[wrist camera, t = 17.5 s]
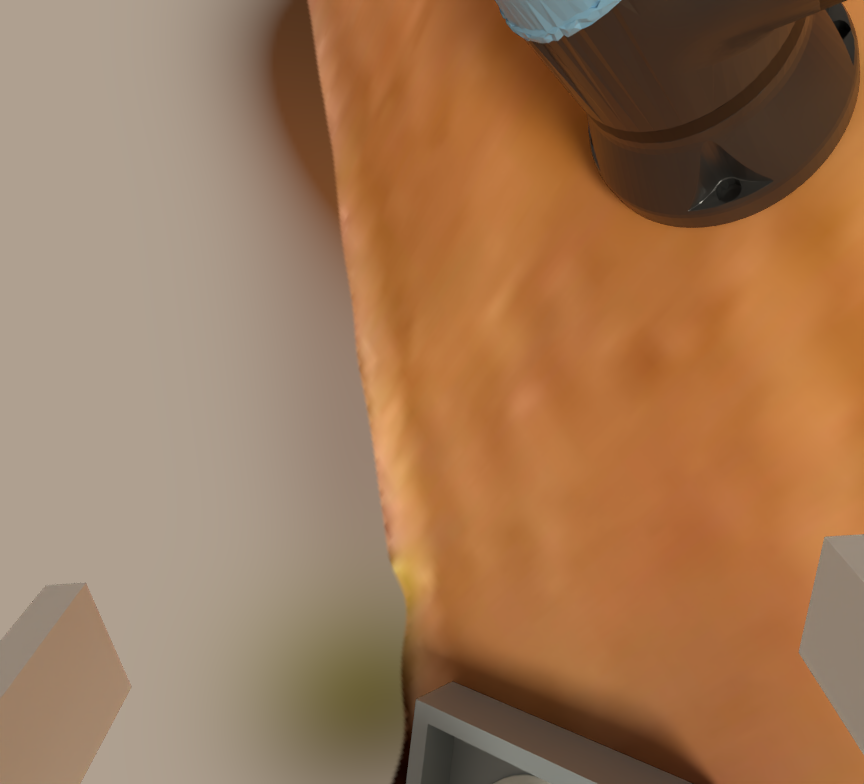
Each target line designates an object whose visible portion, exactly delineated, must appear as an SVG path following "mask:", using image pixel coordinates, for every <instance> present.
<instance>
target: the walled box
mask: <svg viewBox="0 0 864 784" xmlns="http://www.w3.org/2000/svg"><path fill="white" fill-rule="evenodd" d="M406 784H693V783H691V782H688V781H686V780H684V779H681V778H679V777H676V776H674V775H672V774H669V773H667V772H665V771H662V770H660V769H658V768H655V767H653V766H651V765H648V764H646V763H644V762H641V761H639V760H636V759H634V758H632V757H629V756H627V755H625V754H622V753H620V752H618V751H615V750H613V749H611V748H608V747H606V746H603V745H601V744H599V743H596V742H594V741H592V740H589V739H587V738H585V737H582V736H580V735H578V734H575V733H573V732H571V731H568V730H566V729H563V728H561V727H559V726H556V725H554V724H552V723H549V722H547V721H545V720H542V719H540V718H538V717H535V716H533V715H530V714H528V713H526V712H523V711H521V710H519V709H516V708H514V707H512V706H509V705H507V704H505V703H502V702H500V701H498V700H495V699H493V698H490V697H488V696H486V695H483V694H481V693H479V692H476V691H474V690H472V689H469V688H467V687H465V686H462V685H460V684H457V683H455V682H453V681H452V682H450V683H448V684H446V685H444V686H442V687H440V688H438V689H436V690H434V691H432V692H430V693H428V694H425V695H423V696H421V697H419V698H417V699H416V703H415V712H414V720H413V729H412V737H411V745H410V754H409V762H408V771H407V779H406Z"/></svg>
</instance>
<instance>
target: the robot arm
mask: <svg viewBox="0 0 864 784" xmlns="http://www.w3.org/2000/svg"><path fill="white" fill-rule="evenodd" d="M495 1H496V3H497V4H498V6H499V8H500V12H501V14H502V16H503V18H504V19H506V23H507V25H508V26H509V27H510V28H511V29H512V31H513V32H515V33H516V34H517V35H519V36H521V37H523V38H524V39H525V41H526V42H527V43H528V44H529V45H530V47H531V48H532V49H533V50H534V51H535V53H536V54H537V55H538V56H539V57H540V58H541V60H542V61H543V62H544V63H545V64H546V66H547V67H548V68H549V69H550V70H551V72H552V73H553V74H554V75H555V76H556V78H557V79H558V80H559V81H560V82H561V83H562V85H563V86H564V87H565V88H566V89H567V91H568V92H569V93H570V94H571V95H572V97H573V98H574V99H575V100H576V101H577V103H578V104H579V105H580V106H581V107H582V108H583V109H584V111H585V112H586V113H587V118H588V124H589V139H590V147H591V152H592V156H593V159H594V161H595V164H596V166H597V168H598V171H599V173H600V175H601V176H602V178H603V180H604V181H605V182H606V184H607V185H608V186H609V188H610V189H611V190H612V191H613V192H614V193H615V194H616V195H617V196H618V197H619V198H620V199H621V201H622V202H624V203H625V204H626V205H627V206H628V207H629V208H630V209H632V210H633V211H635V212H636V213H638V214H639V215H641V216H643V217H645V218H647V219H649V220H652V221H655V222H658V223H661V224H665V225H669V226H675V227H686V228H698V227H709V226H716V225H721V224H726V223H730V222H734V221H737V220H740V219H743V218H746V217H748V216H751V215H753V214H756V213H758V212H760V211H762V210H764V209H766V208H768V207H770V206H771V205H773V204H775V203H777V202H778V201H780V200H781V199H783V198H785V197H786V196H787V195H789V194H790V193H792V192H793V191H794V190H796V189H797V188H798V187H799V186H800V185H802V184H803V183H804V182H805V181H806V180H807V179H808V178H810V177H811V176H812V175H813V174H814V173H815V172H816V171H817V170H818V168H819V167H820V166H821V165H822V164H823V163H824V162H825V160H826V159H827V158H828V157H829V155H830V154H831V153H832V151H833V150H834V149H835V147H836V145H837V144H838V142H839V141H840V139H841V137H842V136H843V134H844V132H845V130H846V128H847V126H848V124H849V122H850V119H851V117H852V114H853V111H854V108H855V105H856V101H857V96H858V92H859V83H860V64H859V48H858V40H857V35H856V32H855V28H854V25H853V23H852V20H851V18H850V16H849V14H848V12H847V10H846V8H845V7H844V5H843V4H842V2H844V1H846V0H495ZM799 654H800V655H801V657H802V658H803V660H804V661H805V663H806V665H807V666H808V668H809V669H810V671H811V672H812V674H813V676H814V677H815V679H816V680H817V682H818V684H819V685H820V687H821V688H822V690H823V691H824V693H825V695H826V696H827V698H828V699H829V701H830V702H831V704H832V706H833V707H834V709H835V710H836V712H837V713H838V715H839V717H840V718H841V720H842V721H843V723H844V724H845V726H846V728H847V729H848V731H849V732H850V734H851V735H852V737H853V739H854V740H855V742H856V743H857V745H858V746H859V748H860V750H861V751H862V753H863V754H864V534H863V535H846V536H830V537H824V542H823V546H822V550H821V555H820V559H819V564H818V568H817V573H816V577H815V582H814V586H813V591H812V595H811V600H810V604H809V609H808V613H807V617H806V622H805V626H804V631H803V635H802V640H801V644H800V649H799ZM130 689H131V684H130V682H129V680H128V678H127V675H126V673H125V671H124V669H123V666H122V664H121V662H120V659H119V657H118V655H117V653H116V650H115V648H114V646H113V644H112V641H111V639H110V637H109V634H108V632H107V630H106V628H105V625H104V623H103V621H102V619H101V616H100V614H99V612H98V609H97V607H96V605H95V603H94V600H93V598H92V596H91V594H90V591H89V589H88V587H87V584H86V583H74V584H57V585H46V586H45V587H44V588H43V589H42V591H41V592H40V593H39V594H38V595H37V597H36V598H35V599H34V600H33V601H32V603H31V604H30V605H29V607H28V608H27V609H26V610H25V612H24V613H23V614H22V615H21V616H20V618H19V619H18V620H17V621H16V622H15V624H14V625H13V626H12V628H10V630H9V631H8V632H7V633H6V635H5V636H4V637H3V638H2V640H1V641H0V784H80V783H81V781H82V779H83V778H84V776H85V774H86V772H87V770H88V768H89V766H90V764H91V762H92V760H93V759H94V757H95V755H96V753H97V751H98V749H99V747H100V746H101V743H102V742H103V740H104V738H105V736H106V734H107V732H108V730H109V728H110V727H111V725H112V723H113V721H114V719H115V717H116V715H117V713H118V712H119V710H120V708H121V706H122V704H123V702H124V700H125V698H126V696H127V695H128V693H129V691H130Z"/></svg>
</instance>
